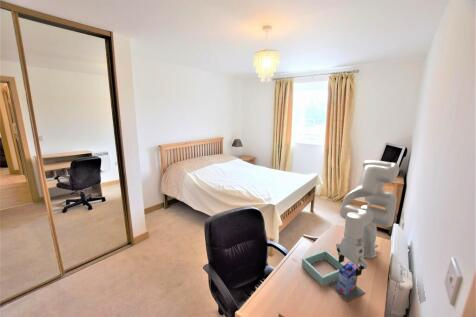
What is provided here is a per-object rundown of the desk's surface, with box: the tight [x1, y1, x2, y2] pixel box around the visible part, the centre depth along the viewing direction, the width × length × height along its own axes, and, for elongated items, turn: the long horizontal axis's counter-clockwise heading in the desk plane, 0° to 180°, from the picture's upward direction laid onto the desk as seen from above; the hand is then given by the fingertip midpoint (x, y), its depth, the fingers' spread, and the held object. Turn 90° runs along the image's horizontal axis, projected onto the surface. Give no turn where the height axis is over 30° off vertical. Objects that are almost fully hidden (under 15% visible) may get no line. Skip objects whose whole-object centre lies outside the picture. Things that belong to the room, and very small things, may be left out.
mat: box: [328, 280, 366, 303], centre depth 107 cm, size 12×11×1 cm
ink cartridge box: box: [337, 260, 358, 295], centre depth 106 cm, size 10×6×14 cm, turn 125°
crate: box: [301, 249, 345, 286], centre depth 119 cm, size 18×16×5 cm
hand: (349, 268), depth 105 cm, fingers open, 9 cm apart
